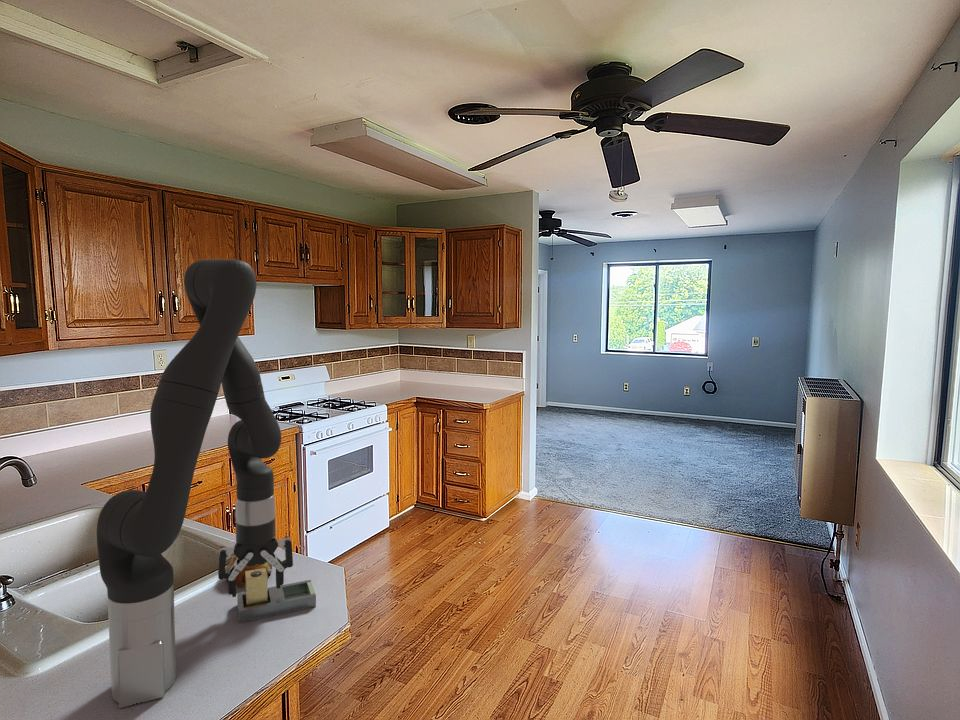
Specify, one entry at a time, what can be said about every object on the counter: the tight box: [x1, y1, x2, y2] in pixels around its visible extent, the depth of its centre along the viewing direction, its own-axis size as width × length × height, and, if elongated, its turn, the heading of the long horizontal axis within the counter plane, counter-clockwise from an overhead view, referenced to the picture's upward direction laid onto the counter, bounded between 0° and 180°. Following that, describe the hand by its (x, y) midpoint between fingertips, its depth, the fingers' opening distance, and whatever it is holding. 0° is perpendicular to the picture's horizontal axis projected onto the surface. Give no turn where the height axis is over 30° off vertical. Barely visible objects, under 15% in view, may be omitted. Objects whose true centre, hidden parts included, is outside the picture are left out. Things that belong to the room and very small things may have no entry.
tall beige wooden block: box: [244, 568, 269, 608], centre depth 113 cm, size 4×4×8 cm
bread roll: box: [225, 555, 273, 588], centre depth 126 cm, size 10×10×8 cm
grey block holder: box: [236, 579, 317, 624], centre depth 115 cm, size 7×15×2 cm, turn 116°
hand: (256, 590), depth 113 cm, fingers open, 8 cm apart
